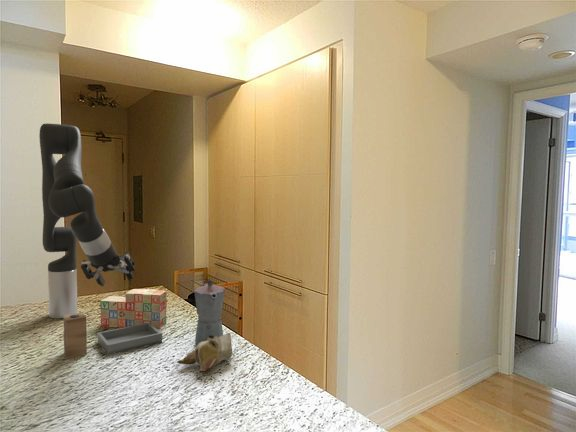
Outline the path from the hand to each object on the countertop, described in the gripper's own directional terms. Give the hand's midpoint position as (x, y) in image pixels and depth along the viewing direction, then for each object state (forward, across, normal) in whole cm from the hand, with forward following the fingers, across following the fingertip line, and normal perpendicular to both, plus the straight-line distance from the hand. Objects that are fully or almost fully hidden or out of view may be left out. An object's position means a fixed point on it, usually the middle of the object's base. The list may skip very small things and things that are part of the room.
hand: (117, 281), depth 123 cm
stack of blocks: (+23, +2, 0) cm, 23 cm away
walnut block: (+8, +12, +18) cm, 23 cm away
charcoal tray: (+14, -1, +14) cm, 19 cm away
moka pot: (+17, -25, +17) cm, 35 cm away
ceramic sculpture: (+8, -27, +31) cm, 42 cm away
